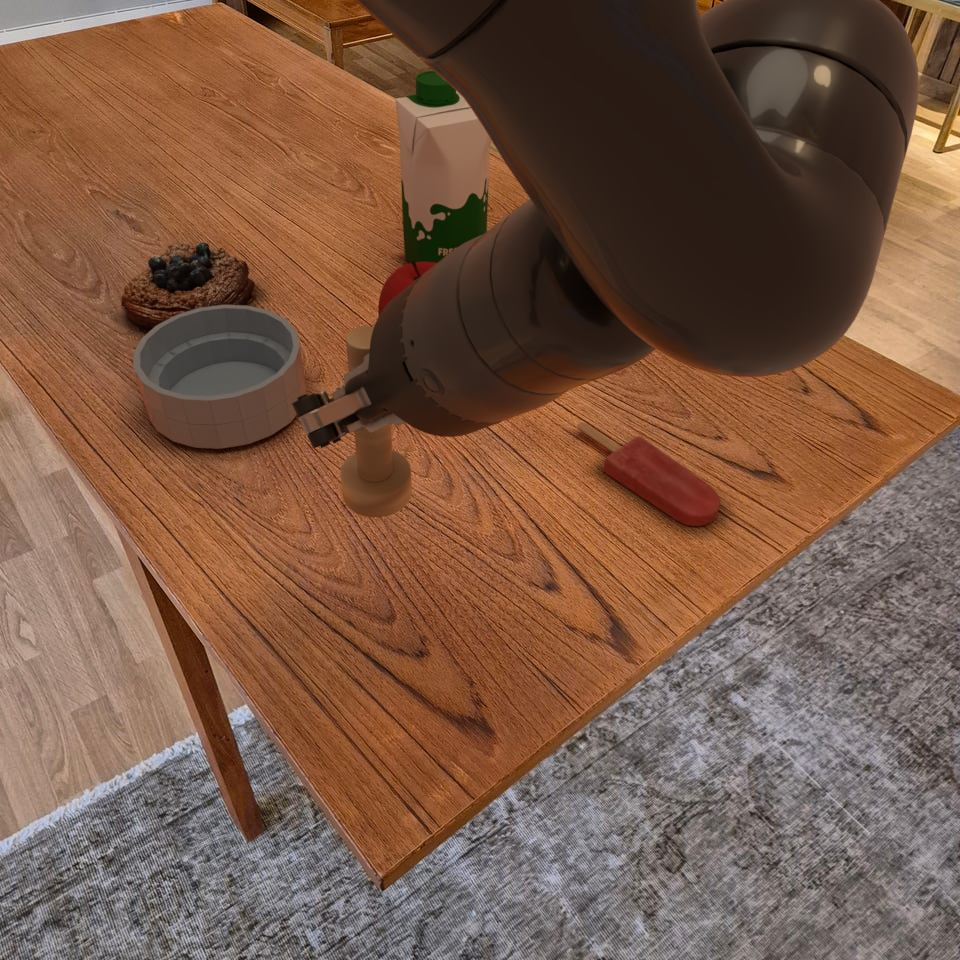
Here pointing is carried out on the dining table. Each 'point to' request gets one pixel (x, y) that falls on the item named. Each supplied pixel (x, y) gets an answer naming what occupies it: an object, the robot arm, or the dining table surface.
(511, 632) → the dining table surface
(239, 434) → the bowl
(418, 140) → the milk carton
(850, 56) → the robot arm
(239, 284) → the pastry
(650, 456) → the popsicle
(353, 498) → the peg on round base
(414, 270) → the apple
